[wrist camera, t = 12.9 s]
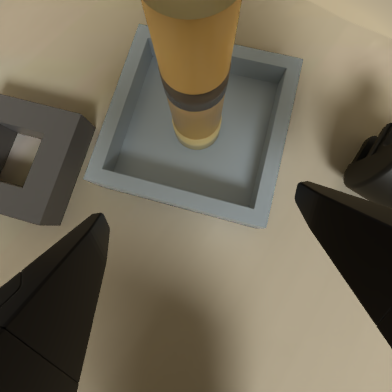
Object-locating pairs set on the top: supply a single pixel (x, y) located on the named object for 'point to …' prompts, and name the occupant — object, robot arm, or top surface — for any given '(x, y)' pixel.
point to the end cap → (373, 169)
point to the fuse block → (42, 159)
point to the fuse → (194, 62)
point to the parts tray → (205, 158)
